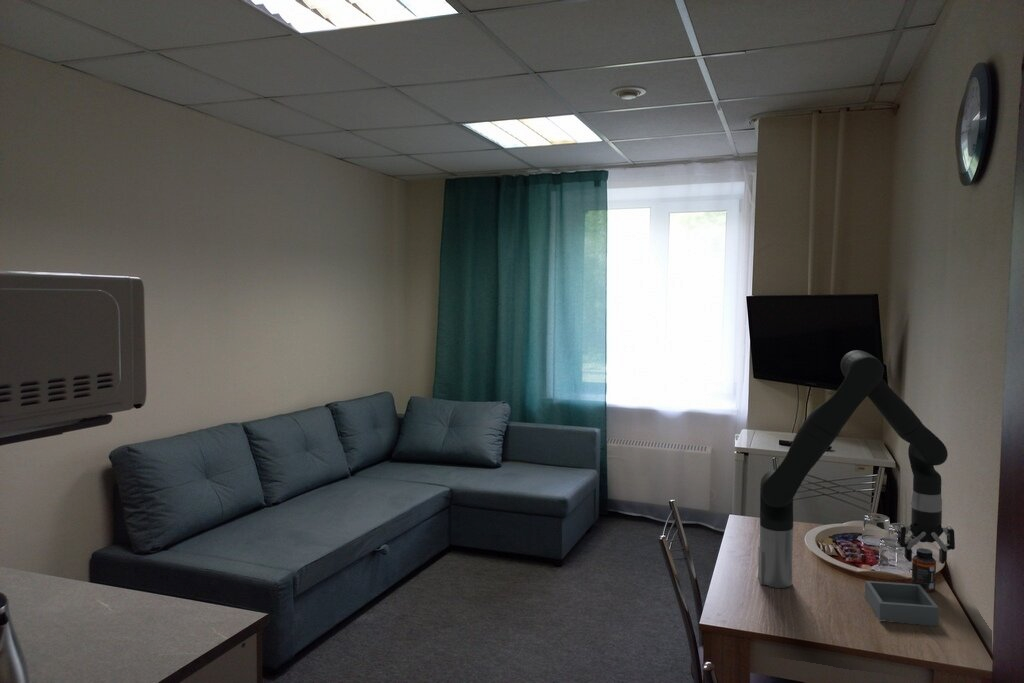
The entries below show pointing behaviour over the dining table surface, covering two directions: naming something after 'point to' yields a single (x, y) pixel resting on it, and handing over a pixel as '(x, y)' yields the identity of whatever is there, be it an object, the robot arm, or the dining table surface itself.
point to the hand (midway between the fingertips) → (925, 561)
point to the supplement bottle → (924, 569)
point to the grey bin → (901, 603)
